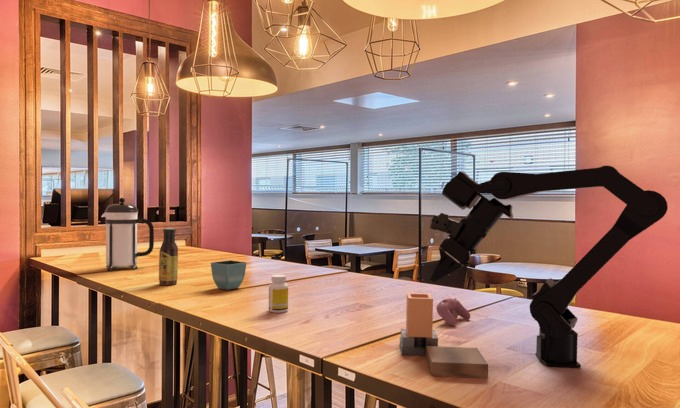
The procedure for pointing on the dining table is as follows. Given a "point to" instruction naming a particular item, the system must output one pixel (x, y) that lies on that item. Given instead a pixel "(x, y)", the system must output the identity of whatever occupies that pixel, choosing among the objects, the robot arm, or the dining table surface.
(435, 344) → the vise
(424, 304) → the sleeve
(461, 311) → the video game controller
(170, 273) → the sauce bottle
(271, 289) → the supplement bottle
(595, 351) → the dining table surface
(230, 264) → the flower pot
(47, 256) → the dining table surface
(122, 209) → the coffee press
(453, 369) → the walnut block
